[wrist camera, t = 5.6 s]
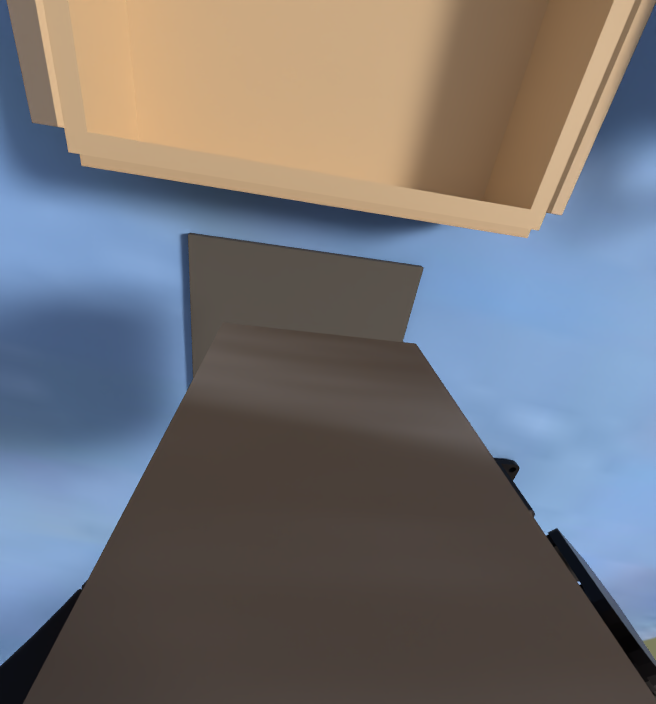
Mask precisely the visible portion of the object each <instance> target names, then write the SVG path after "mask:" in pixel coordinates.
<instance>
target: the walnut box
mask: <svg viewBox="0 0 656 704" xmlns="http://www.w3.org/2000/svg"><path fill="white" fill-rule="evenodd" d="M23 704H656V698H655V697H654V695H653V694H652V692H651V691H650V689H649V688H648V686H647V685H646V683H645V682H644V680H643V679H642V677H641V676H640V674H639V673H638V671H637V670H636V668H635V667H634V665H633V664H632V663H631V661H630V660H629V658H628V657H627V655H626V654H625V652H624V651H623V649H622V648H621V646H620V645H619V643H618V642H617V640H616V639H615V637H614V636H613V634H612V633H611V631H610V630H609V628H608V627H607V626H606V624H605V623H604V621H603V620H602V618H601V617H600V615H599V614H598V612H597V611H596V609H595V608H594V606H593V605H592V603H591V602H590V600H589V599H588V597H587V596H586V594H585V593H584V592H583V590H582V589H581V587H580V586H579V584H578V583H577V581H576V580H575V578H574V577H573V575H572V574H571V572H570V571H569V569H568V568H567V566H566V565H565V563H564V562H563V560H562V559H561V558H560V556H559V555H558V553H557V552H556V550H555V549H554V547H553V546H552V544H551V543H550V541H549V540H548V538H547V537H546V535H545V534H544V532H543V531H542V529H541V528H540V526H539V525H538V523H537V522H536V521H535V519H534V518H533V516H532V515H531V513H530V512H529V510H528V509H527V507H526V506H525V504H524V503H523V501H522V500H521V498H520V497H519V495H518V494H517V492H516V491H515V489H514V488H513V487H512V485H511V484H510V482H509V481H508V479H507V478H506V476H505V475H504V473H503V472H502V470H501V469H500V467H499V466H498V464H497V463H496V461H495V460H494V458H493V457H492V455H491V454H490V453H489V451H488V450H487V448H486V447H485V445H484V444H483V442H482V441H481V439H480V438H479V436H478V435H477V433H476V432H475V430H474V429H473V427H472V426H471V424H470V423H469V421H468V420H467V418H466V417H465V416H464V414H463V413H462V411H461V410H460V408H459V407H458V405H457V404H456V402H455V401H454V399H453V398H452V396H451V395H450V393H449V392H448V390H447V389H446V387H445V386H444V384H443V383H442V382H441V380H440V379H439V377H438V376H437V374H436V373H435V371H434V370H433V368H432V367H431V365H430V364H429V362H428V361H427V359H426V358H425V356H424V355H423V353H422V352H421V350H420V349H419V348H418V346H417V345H416V344H414V343H405V342H396V341H387V340H378V339H369V338H360V337H351V336H342V335H333V334H324V333H315V332H306V331H297V330H288V329H279V328H270V327H261V326H252V325H243V324H234V323H225V322H223V323H222V325H221V327H220V329H219V331H218V333H217V335H216V337H215V338H214V340H213V342H212V344H211V346H210V348H209V350H208V352H207V354H206V356H205V357H204V359H203V361H202V363H201V365H200V367H199V369H198V371H197V373H196V375H195V377H194V378H193V380H192V382H191V384H190V386H189V388H188V390H187V392H186V394H185V396H184V398H183V399H182V401H181V403H180V405H179V407H178V409H177V411H176V413H175V415H174V417H173V418H172V420H171V422H170V424H169V426H168V428H167V430H166V432H165V434H164V436H163V438H162V439H161V441H160V443H159V445H158V447H157V449H156V451H155V453H154V455H153V457H152V459H151V460H150V462H149V464H148V466H147V468H146V470H145V472H144V474H143V476H142V478H141V479H140V481H139V483H138V485H137V487H136V489H135V491H134V493H133V495H132V497H131V499H130V500H129V502H128V504H127V506H126V508H125V510H124V512H123V514H122V516H121V518H120V520H119V521H118V523H117V525H116V527H115V529H114V531H113V533H112V535H111V537H110V539H109V540H108V542H107V544H106V546H105V548H104V550H103V552H102V554H101V556H100V558H99V560H98V561H97V563H96V565H95V567H94V569H93V571H92V573H91V575H90V577H89V579H88V581H87V582H86V584H85V586H84V588H83V590H82V592H81V594H80V596H79V598H78V600H77V601H76V603H75V605H74V607H73V609H72V611H71V613H70V615H69V617H68V619H67V621H66V622H65V624H64V626H63V628H62V630H61V632H60V634H59V636H58V638H57V640H56V642H55V643H54V645H53V647H52V649H51V651H50V653H49V655H48V657H47V659H46V661H45V662H44V664H43V666H42V668H41V670H40V672H39V674H38V676H37V678H36V680H35V682H34V683H33V685H32V687H31V689H30V691H29V693H28V695H27V697H26V699H25V701H24V703H23Z"/></svg>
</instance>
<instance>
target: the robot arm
mask: <svg viewBox="0 0 656 704" xmlns="http://www.w3.org/2000/svg"><path fill="white" fill-rule="evenodd" d="M494 460H495V461H496V463H497V464H498V466H499V467H500V469H501V470H502V472H503V473H504V475H505V476H506V478H507V479H508V481H509V482H510V484H511V485H512V487H513V488H514V489H515V491H516V492H517V494H518V495H519V497H520V498H521V500H522V501H523V503H524V504H525V506H526V507H527V509H528V510H529V512H530V513H531V515H532V516H533V518H534V515H535V513H534V511H533V510H532V508H531V507H530V505H529V504H528V502H527V501H526V499H525V498H524V496H523V495H522V494H521V492H520V491H519V489H518V488H517V486H516V485H515V483H514V482H513V480H514V478H515V476H516V474H517V473H518V471H519V466H518V464H517V463H516V462H515V461H513V460H499V459H494ZM535 521H536V520H535ZM548 534H549V535H547V536H546V537H547V538H548V540H549V541H550V543H551V544H552V546H553V547H554V549H555V550H556V552H557V553H558V555H559V556H560V558H561V559H562V560H563V562H564V563H565V565H566V566H567V568H568V569H569V571H570V572H571V574H572V575H573V577H574V578H575V580H576V581H577V582H578V581H580V583H581V585H579V586H580V587H581V589H582V590H583V592H584V593H585V594H586V596H587V597H588V599H589V600H590V602H591V603H592V605H593V606H594V608H595V609H596V611H597V612H598V614H599V615H600V617H601V618H602V620H603V621H604V623H605V624H606V626H607V627H608V628H609V630H610V631H611V633H612V634H613V636H614V637H615V639H616V640H617V642H618V643H619V645H620V646H621V648H622V649H623V651H624V652H625V654H626V655H627V657H628V658H629V660H630V661H631V663H632V664H633V665H634V667H635V668H636V670H637V671H638V673H639V674H640V676H641V677H642V679H643V680H644V682H645V683H646V685H647V686H648V688H649V689H650V691H651V692H652V694H653V695H654V697H655V698H656V660H655V659H654V658H653V656H652V654H651V653H650V651H649V650H648V649H647V647H646V646H645V644H644V643H643V641H642V640H641V638H640V637H639V635H638V634H637V632H636V631H635V629H634V628H633V626H632V625H631V623H630V622H629V620H628V619H627V617H626V616H625V614H624V613H623V612H622V610H621V609H620V607H619V606H618V604H617V603H616V601H615V600H614V599H613V597H612V596H611V595H610V593H609V592H608V591H607V589H606V588H605V587H604V585H603V584H602V583H601V581H600V580H599V579H598V577H597V576H596V575H595V573H594V572H593V571H592V569H591V568H590V567H589V565H588V564H587V563H586V562H585V560H584V559H583V558H582V557H581V556H580V554H579V553H578V552H577V551H576V550H575V549H574V547H573V546H572V545H571V544H570V543H569V542H568V540H567V539H566V538H565V537H564V536H563V534H562V533H561V532H560V531H559V530H558V529H557V528H556V529H554V530H552V531H550V532H548ZM87 581H88V580H87ZM87 581H86V582H87ZM86 582H85V583H84V584H83V585H82V589H79V590H77V591H76V592H75V593H74V594H73V596H72V597H71V598H70V599H69V600H68V601H67V602H66V603H65V604H64V605H63V606H62V607H61V608H60V609H59V610H58V611H57V612H56V613H55V614H54V615H53V616H52V617H51V618H50V619H49V620H48V621H47V622H46V623H45V624H44V625H43V626H42V627H41V628H40V629H39V630H38V631H37V632H36V633H35V634H34V635H33V636H32V637H31V638H30V639H29V640H28V641H27V642H26V643H25V644H24V645H22V646H21V647H20V648H19V649H18V650H17V651H16V652H15V653H14V654H13V655H12V656H11V657H10V658H9V659H7V660H6V661H5V662H4V663H3V664H2V665H1V666H0V704H23V703H24V701H25V699H26V697H27V695H28V693H29V691H30V689H31V687H32V685H33V683H34V682H35V680H36V678H37V676H38V674H39V672H40V670H41V668H42V666H43V664H44V662H45V661H46V659H47V657H48V655H49V653H50V651H51V649H52V647H53V645H54V643H55V642H56V640H57V638H58V636H59V634H60V632H61V630H62V628H63V626H64V624H65V622H66V621H67V619H68V617H69V615H70V613H71V611H72V609H73V607H74V605H75V603H76V601H77V600H78V598H79V596H80V594H81V592H82V590H83V588H84V586H85V584H86Z"/></svg>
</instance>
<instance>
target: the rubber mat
mask: <svg viewBox="0 0 656 704" xmlns="http://www.w3.org/2000/svg"><path fill="white" fill-rule="evenodd" d="M188 247H189V275H190V304H191V332H192V360H193V378H194V377H195V375H196V373H197V371H198V369H199V367H200V365H201V363H202V361H203V359H204V357H205V356H206V354H207V352H208V350H209V348H210V346H211V344H212V342H213V340H214V338H215V337H216V335H217V333H218V331H219V329H220V327H221V325H222V323H223V322H225V323H234V324H243V325H252V326H261V327H270V328H279V329H288V330H297V331H306V332H315V333H324V334H333V335H342V336H351V337H360V338H369V339H378V340H387V341H396V342H403V338H404V335H405V331H406V328H407V324H408V321H409V317H410V314H411V310H412V307H413V303H414V300H415V296H416V293H417V289H418V286H419V282H420V279H421V275H422V272H423V267H422V266H419V265H412V264H405V263H398V262H391V261H384V260H377V259H370V258H363V257H356V256H349V255H342V254H335V253H328V252H321V251H314V250H307V249H300V248H293V247H286V246H279V245H272V244H265V243H258V242H251V241H244V240H237V239H230V238H223V237H216V236H209V235H202V234H195V233H190V234H188Z"/></svg>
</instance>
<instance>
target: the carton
mask: <svg viewBox="0 0 656 704" xmlns="http://www.w3.org/2000/svg"><path fill="white" fill-rule="evenodd" d="M655 3H656V0H7V5H8V10H9V15H10V19H11V24H12V29H13V34H14V39H15V43H16V48H17V53H18V58H19V63H20V67H21V72H22V77H23V82H24V86H25V91H26V96H27V101H28V106H29V110H30V115H31V120H32V123H37V124H43V125H49V126H55V127H61V128H64V129H65V135H66V141H67V146H68V152H70V153H76V154H80V159H81V165H82V166H87V167H93V168H99V169H105V170H111V171H117V172H124V173H130V174H136V175H142V176H148V177H154V178H161V179H167V180H173V181H179V182H185V183H191V184H198V185H204V186H210V187H216V188H222V189H228V190H235V191H241V192H247V193H253V194H259V195H265V196H272V197H278V198H284V199H290V200H296V201H302V202H309V203H315V204H321V205H327V206H333V207H339V208H346V209H352V210H358V211H364V212H370V213H376V214H383V215H389V216H395V217H401V218H407V219H413V220H420V221H426V222H432V223H438V224H444V225H450V226H457V227H463V228H469V229H475V230H481V231H487V232H494V233H500V234H506V235H512V236H518V237H524V238H528V235H529V233H530V231H531V229H533V230H539V229H540V226H541V224H542V222H543V219H544V217H545V214H546V213H551V214H557V215H562V214H563V211H564V209H565V207H566V205H567V202H568V200H569V198H570V196H571V193H572V191H573V189H574V186H575V184H576V182H577V180H578V177H579V175H580V173H581V171H582V168H583V166H584V164H585V162H586V159H587V157H588V155H589V152H590V150H591V148H592V146H593V143H594V141H595V139H596V137H597V134H598V132H599V130H600V128H601V125H602V123H603V121H604V119H605V116H606V114H607V112H608V109H609V107H610V105H611V103H612V100H613V98H614V96H615V94H616V91H617V89H618V87H619V85H620V82H621V80H622V78H623V75H624V73H625V71H626V69H627V66H628V64H629V62H630V60H631V57H632V55H633V53H634V51H635V48H636V46H637V44H638V41H639V39H640V37H641V35H642V32H643V30H644V28H645V26H646V23H647V21H648V19H649V17H650V14H651V12H652V10H653V7H654V5H655Z"/></svg>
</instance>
